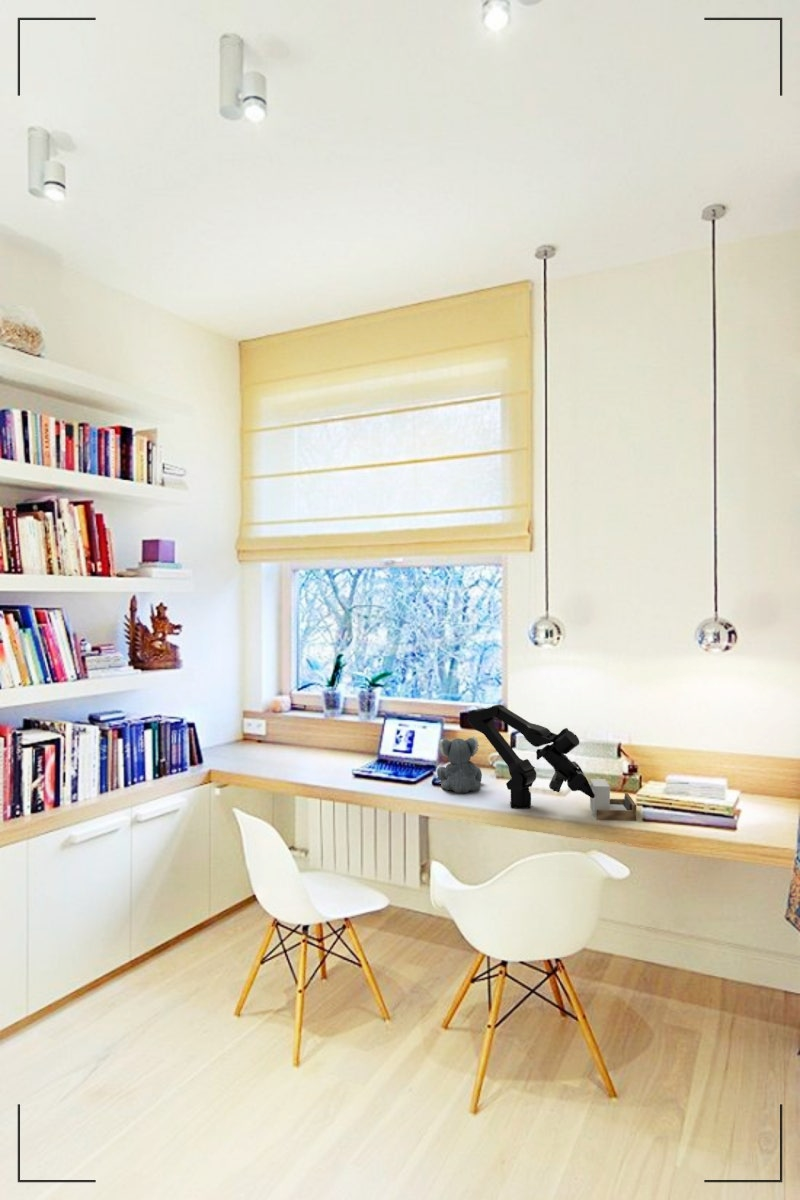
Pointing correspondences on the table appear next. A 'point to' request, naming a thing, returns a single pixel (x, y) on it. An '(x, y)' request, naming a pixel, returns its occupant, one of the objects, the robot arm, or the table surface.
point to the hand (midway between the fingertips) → (591, 793)
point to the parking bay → (619, 814)
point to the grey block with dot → (602, 797)
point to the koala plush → (459, 765)
